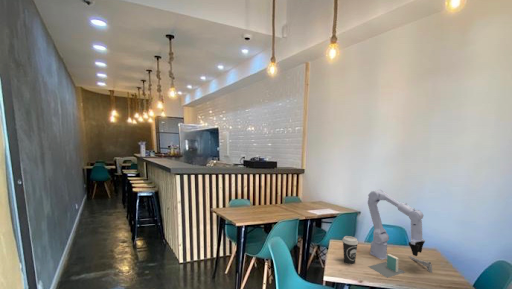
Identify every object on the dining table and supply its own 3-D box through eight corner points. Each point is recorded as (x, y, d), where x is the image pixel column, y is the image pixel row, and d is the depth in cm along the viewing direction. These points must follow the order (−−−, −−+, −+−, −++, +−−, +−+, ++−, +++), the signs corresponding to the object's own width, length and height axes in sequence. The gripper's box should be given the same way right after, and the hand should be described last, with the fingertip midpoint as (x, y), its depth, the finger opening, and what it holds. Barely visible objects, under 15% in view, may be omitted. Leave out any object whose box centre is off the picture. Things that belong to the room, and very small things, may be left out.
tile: (386, 267, 147) (387, 254, 147) (388, 266, 148) (389, 253, 148) (395, 272, 142) (396, 258, 141) (398, 271, 142) (398, 258, 142)
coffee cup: (357, 260, 155) (358, 237, 155) (357, 267, 147) (358, 242, 147) (342, 257, 159) (342, 234, 159) (340, 263, 151) (341, 239, 151)
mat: (368, 267, 147) (368, 266, 147) (385, 262, 154) (385, 261, 154) (387, 278, 136) (387, 277, 136) (405, 272, 142) (405, 272, 142)
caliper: (432, 273, 143) (432, 263, 142) (430, 273, 143) (430, 263, 142) (409, 257, 163) (410, 248, 163) (408, 257, 163) (408, 248, 163)
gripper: (420, 235, 137) (421, 259, 137) (427, 229, 147) (428, 252, 146) (406, 232, 143) (407, 255, 142) (414, 227, 152) (415, 249, 152)
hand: (417, 253), depth 145 cm, fingers open, 7 cm apart
